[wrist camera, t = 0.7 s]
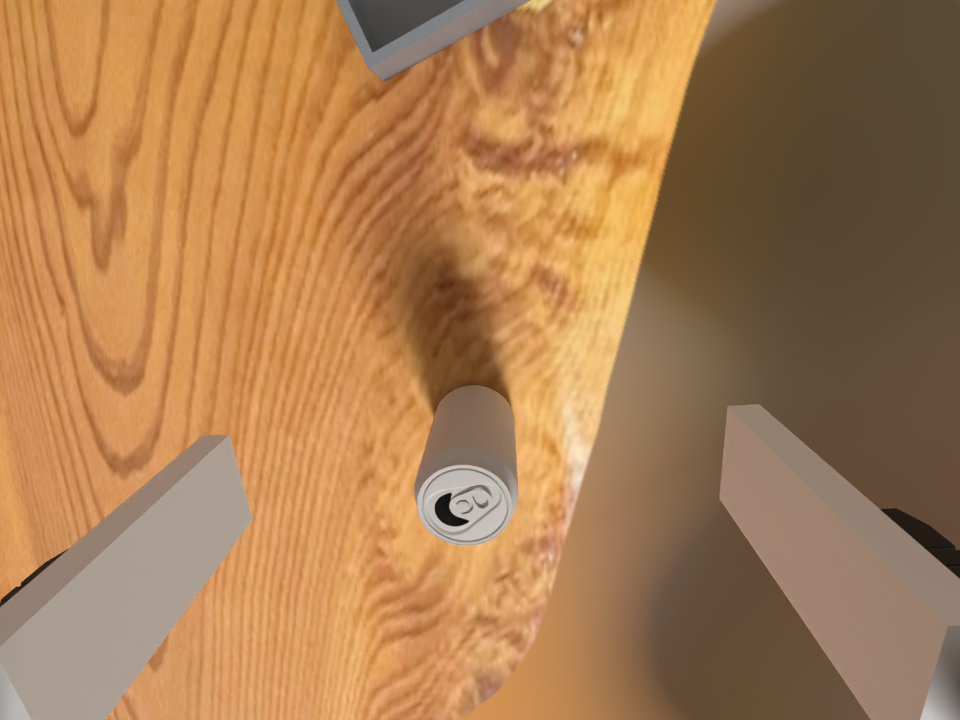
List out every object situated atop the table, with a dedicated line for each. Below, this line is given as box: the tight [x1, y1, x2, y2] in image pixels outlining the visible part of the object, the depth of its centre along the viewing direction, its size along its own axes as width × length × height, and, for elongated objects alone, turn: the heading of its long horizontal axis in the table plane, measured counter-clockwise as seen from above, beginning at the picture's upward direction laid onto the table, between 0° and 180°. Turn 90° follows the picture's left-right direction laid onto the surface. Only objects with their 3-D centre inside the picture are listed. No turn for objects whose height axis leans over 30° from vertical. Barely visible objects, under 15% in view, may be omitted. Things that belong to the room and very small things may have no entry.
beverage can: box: [414, 385, 518, 546], centre depth 35 cm, size 6×6×12 cm
